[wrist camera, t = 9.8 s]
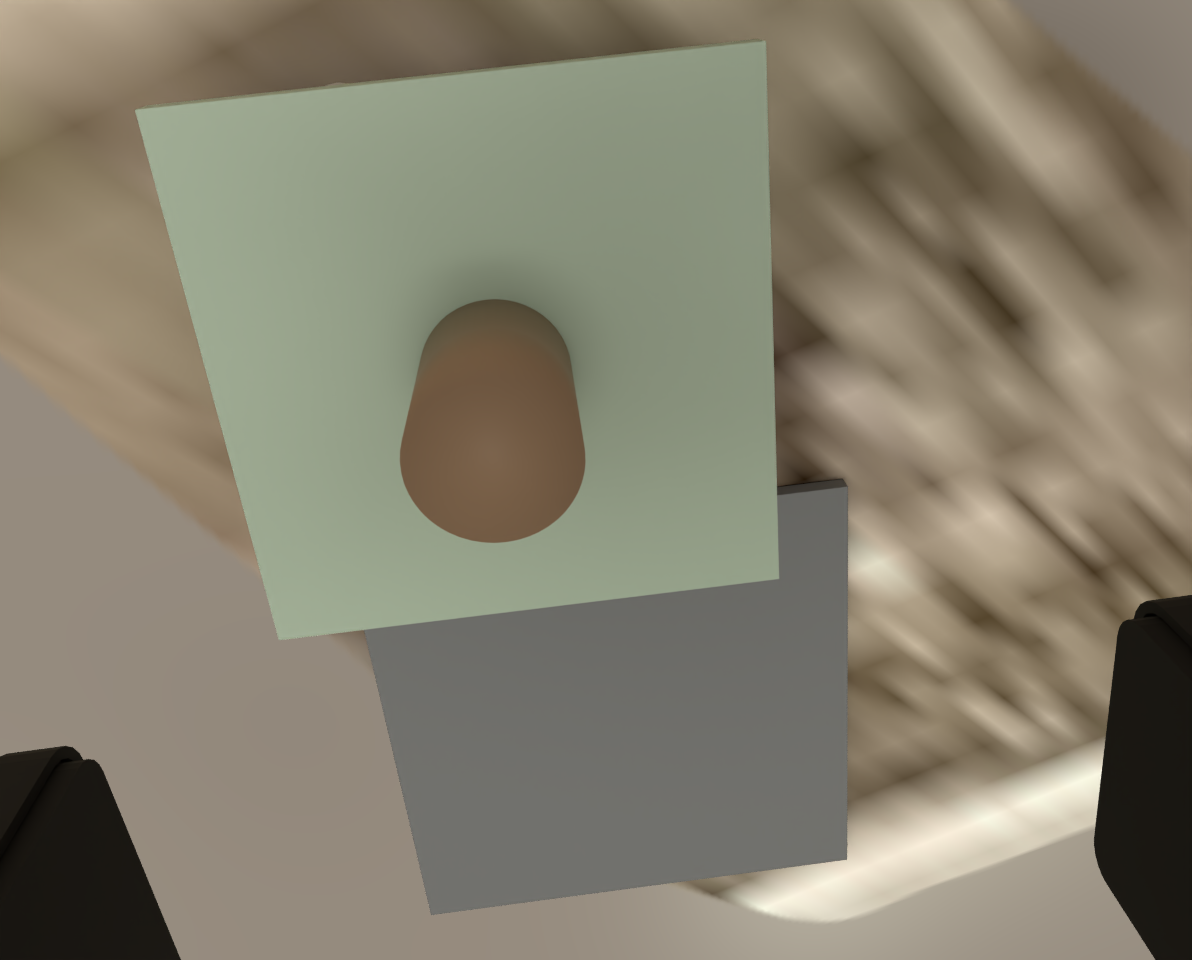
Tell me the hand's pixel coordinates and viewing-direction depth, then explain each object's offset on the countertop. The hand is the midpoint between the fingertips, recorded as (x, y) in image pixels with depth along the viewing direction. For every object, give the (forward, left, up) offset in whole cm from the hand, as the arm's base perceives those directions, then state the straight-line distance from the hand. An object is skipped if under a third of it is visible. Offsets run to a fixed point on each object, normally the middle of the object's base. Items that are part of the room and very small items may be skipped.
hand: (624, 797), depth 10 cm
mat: (-1, +18, -25) cm, 30 cm away
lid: (+2, +1, -17) cm, 17 cm away
